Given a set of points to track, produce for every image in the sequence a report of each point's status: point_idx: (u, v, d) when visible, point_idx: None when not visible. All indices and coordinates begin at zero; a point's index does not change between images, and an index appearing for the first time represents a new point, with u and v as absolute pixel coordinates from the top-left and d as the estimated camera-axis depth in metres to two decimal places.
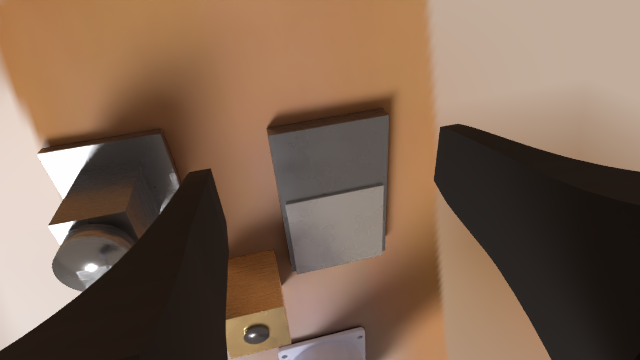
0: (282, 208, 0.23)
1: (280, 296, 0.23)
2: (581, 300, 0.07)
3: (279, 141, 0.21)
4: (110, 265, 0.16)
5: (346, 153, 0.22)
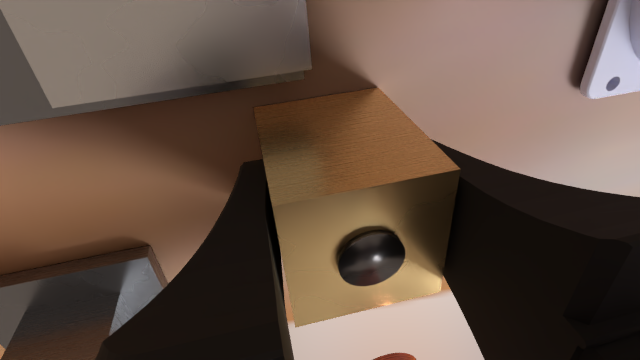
0: (76, 111, 0.09)
1: None
2: (512, 318, 0.07)
3: None
4: None
5: None
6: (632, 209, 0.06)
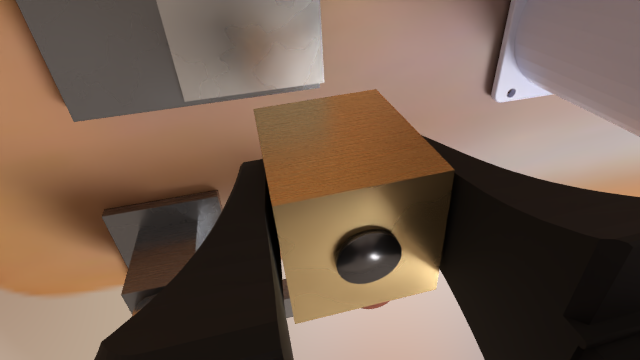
0: (194, 103, 0.17)
1: None
2: (513, 318, 0.07)
3: (79, 108, 0.16)
4: None
5: (80, 8, 0.14)
6: (632, 209, 0.06)
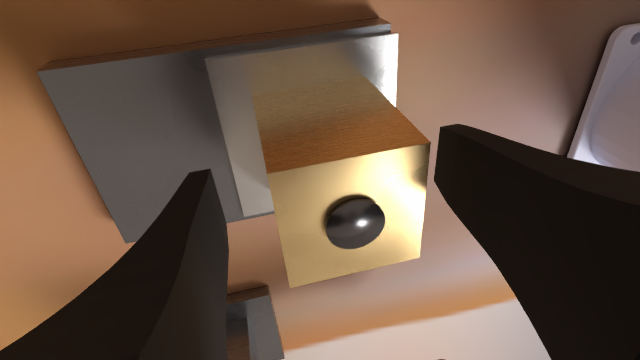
0: (254, 216, 0.16)
1: (264, 160, 0.09)
2: (581, 300, 0.07)
3: (132, 230, 0.15)
4: None
5: (139, 139, 0.13)
6: None
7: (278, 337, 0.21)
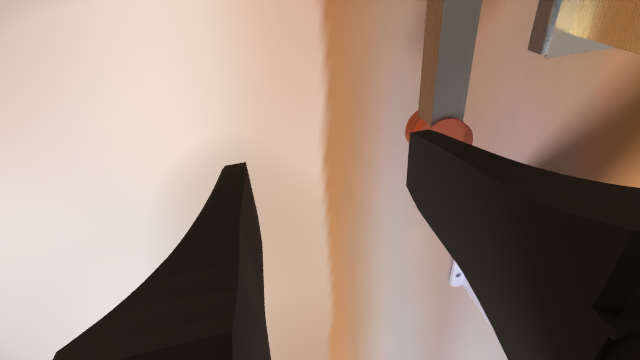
0: None
1: None
2: (537, 312, 0.07)
3: None
4: None
5: None
6: None
7: None
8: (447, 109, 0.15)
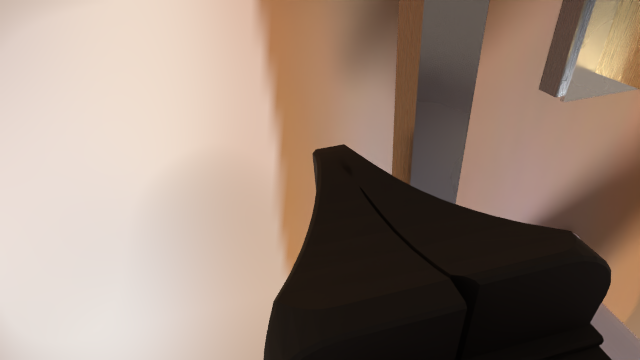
0: None
1: None
2: None
3: None
4: None
5: None
6: (507, 239, 0.05)
7: None
8: None
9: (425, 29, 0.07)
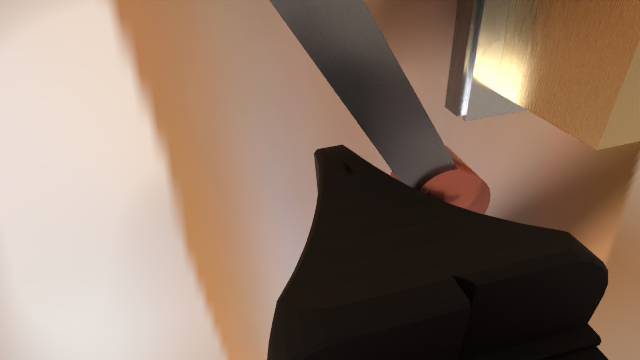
0: None
1: None
2: None
3: None
4: None
5: None
6: (504, 239, 0.05)
7: None
8: (423, 170, 0.10)
9: (302, 38, 0.07)
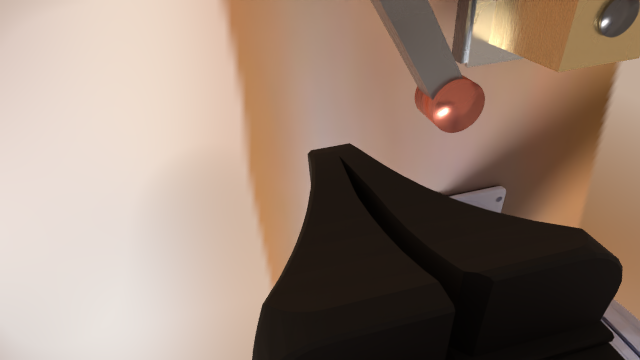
0: None
1: None
2: None
3: None
4: None
5: None
6: (518, 235, 0.06)
7: None
8: (440, 77, 0.14)
9: None
